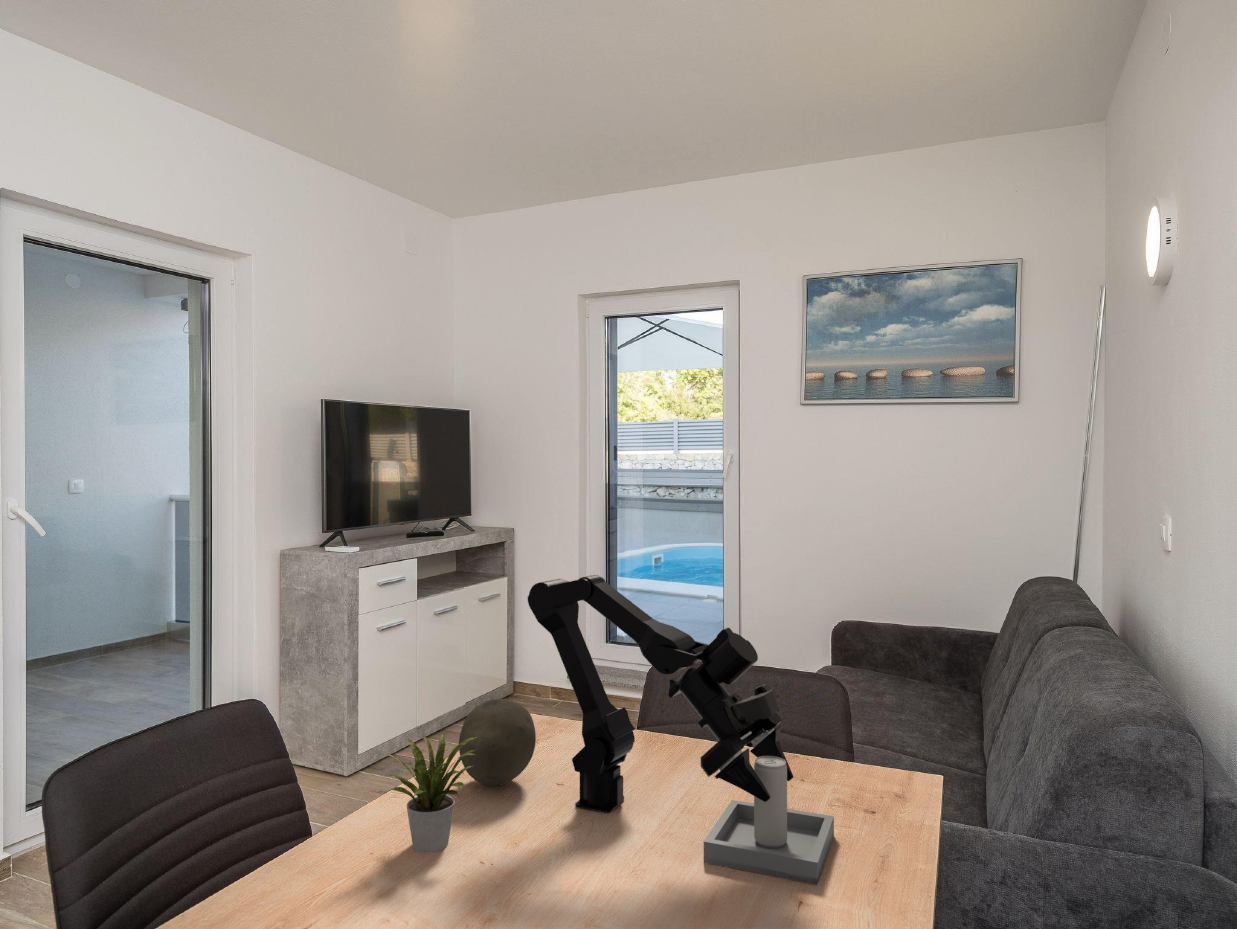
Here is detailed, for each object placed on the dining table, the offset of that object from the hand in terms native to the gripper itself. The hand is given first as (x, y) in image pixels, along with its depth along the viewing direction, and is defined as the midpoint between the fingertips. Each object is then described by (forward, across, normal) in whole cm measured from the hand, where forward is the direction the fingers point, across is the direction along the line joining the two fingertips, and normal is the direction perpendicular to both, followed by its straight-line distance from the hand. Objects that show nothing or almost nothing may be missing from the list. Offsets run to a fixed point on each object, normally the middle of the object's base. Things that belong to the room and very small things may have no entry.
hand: (780, 789), depth 118 cm
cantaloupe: (-30, -4, +43) cm, 52 cm away
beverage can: (+5, 0, +7) cm, 9 cm away
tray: (+5, 0, +7) cm, 9 cm away
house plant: (-24, -26, +37) cm, 51 cm away
